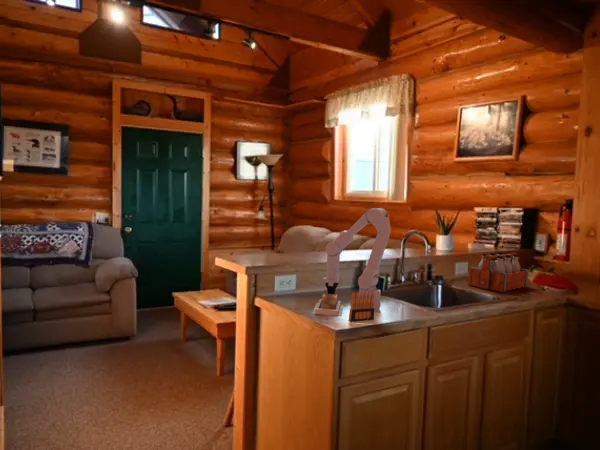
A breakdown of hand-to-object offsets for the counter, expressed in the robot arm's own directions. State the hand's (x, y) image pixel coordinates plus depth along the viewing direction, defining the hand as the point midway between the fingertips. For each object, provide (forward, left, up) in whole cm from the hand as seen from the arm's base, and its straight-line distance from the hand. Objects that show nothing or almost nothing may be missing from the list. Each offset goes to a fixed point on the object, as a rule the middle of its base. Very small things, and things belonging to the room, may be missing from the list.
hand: (330, 298), depth 215 cm
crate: (0, +10, -1) cm, 10 cm away
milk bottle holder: (-92, -74, -2) cm, 118 cm away
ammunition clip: (-14, +26, -2) cm, 29 cm away
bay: (0, +14, -2) cm, 14 cm away
